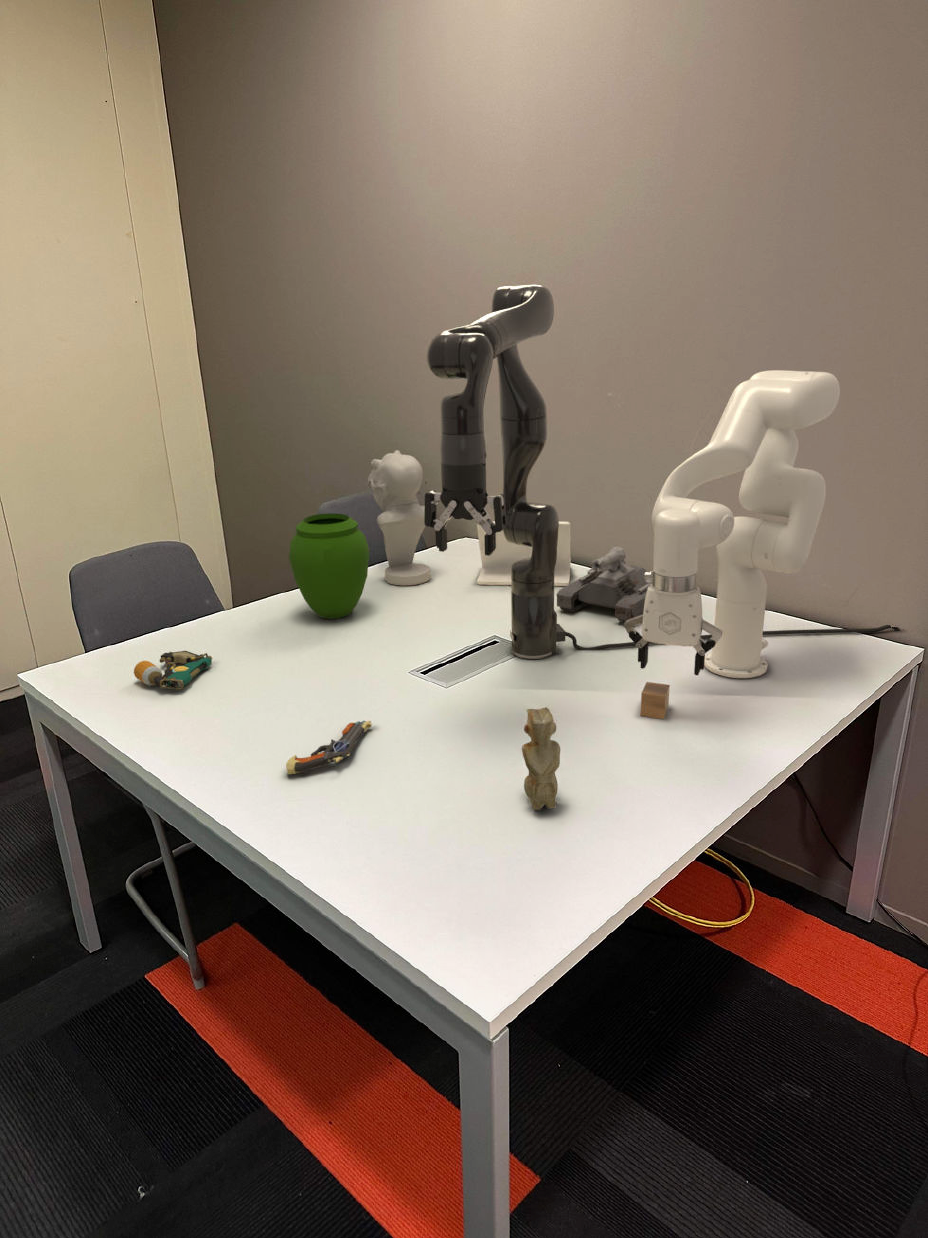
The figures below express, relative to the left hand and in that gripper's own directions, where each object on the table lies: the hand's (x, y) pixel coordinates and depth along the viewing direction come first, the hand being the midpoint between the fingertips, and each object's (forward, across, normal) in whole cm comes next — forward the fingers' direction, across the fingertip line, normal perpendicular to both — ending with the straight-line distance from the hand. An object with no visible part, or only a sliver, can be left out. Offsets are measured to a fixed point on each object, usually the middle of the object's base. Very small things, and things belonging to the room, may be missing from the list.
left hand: (465, 552), depth 148 cm
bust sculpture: (+32, -50, +74) cm, 95 cm away
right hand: (+23, +34, +13) cm, 43 cm away
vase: (+32, -52, +41) cm, 74 cm away
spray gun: (+32, -66, -2) cm, 73 cm away
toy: (+32, +13, +68) cm, 77 cm away
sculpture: (+32, +21, -23) cm, 45 cm away
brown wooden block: (+32, +32, +13) cm, 47 cm away
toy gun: (+32, -18, -20) cm, 42 cm away
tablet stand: (+32, -16, +85) cm, 92 cm away
